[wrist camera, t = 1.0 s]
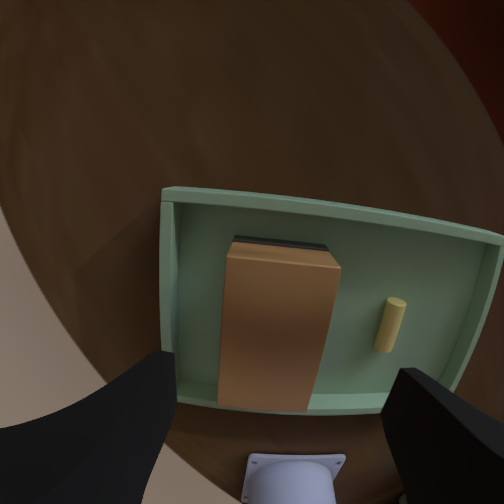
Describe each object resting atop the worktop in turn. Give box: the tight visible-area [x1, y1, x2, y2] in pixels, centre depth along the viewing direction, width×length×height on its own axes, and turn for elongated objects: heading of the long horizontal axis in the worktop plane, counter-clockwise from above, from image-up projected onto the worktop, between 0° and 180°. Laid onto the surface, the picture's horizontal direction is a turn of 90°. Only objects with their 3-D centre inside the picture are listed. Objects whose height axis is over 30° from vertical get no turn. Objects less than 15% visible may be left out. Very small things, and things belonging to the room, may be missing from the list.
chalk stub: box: [374, 297, 407, 353], centre depth 15 cm, size 3×1×1 cm
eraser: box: [217, 235, 341, 413], centre depth 14 cm, size 8×4×4 cm, turn 174°
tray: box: [159, 186, 504, 415], centre depth 15 cm, size 12×19×2 cm, turn 84°
